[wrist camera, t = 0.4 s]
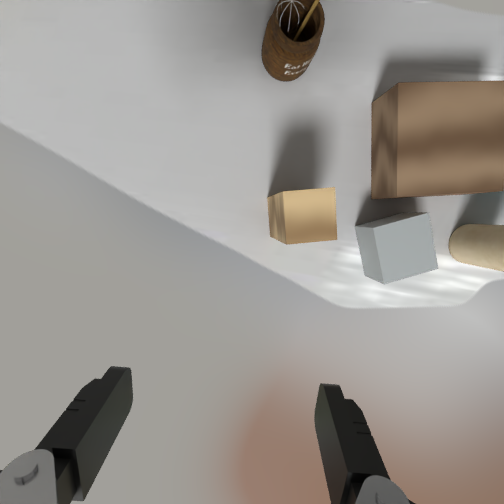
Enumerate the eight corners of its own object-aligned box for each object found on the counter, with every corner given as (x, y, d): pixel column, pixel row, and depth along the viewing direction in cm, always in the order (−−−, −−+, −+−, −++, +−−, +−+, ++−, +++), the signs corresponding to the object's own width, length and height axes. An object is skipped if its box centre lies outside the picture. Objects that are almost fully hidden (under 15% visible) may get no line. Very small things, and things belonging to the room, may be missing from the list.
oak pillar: (267, 197, 36) (283, 191, 26) (305, 194, 37) (334, 187, 27) (270, 236, 37) (286, 244, 27) (307, 232, 37) (337, 239, 28)
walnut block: (370, 104, 36) (398, 82, 30) (465, 101, 37) (510, 80, 31) (370, 199, 38) (396, 196, 32) (461, 194, 39) (503, 191, 33)
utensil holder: (250, 53, 34) (263, -33, 22) (290, 17, 34) (324, -88, 22) (281, 94, 35) (310, 33, 23) (320, 60, 35) (369, -20, 23)
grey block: (354, 226, 38) (373, 228, 33) (402, 212, 38) (429, 212, 34) (364, 275, 39) (384, 284, 34) (411, 261, 40) (438, 268, 35)
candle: (440, 245, 39) (511, 256, 30) (467, 215, 39) (549, 216, 29) (465, 270, 40) (542, 289, 30) (492, 241, 40) (579, 250, 30)
